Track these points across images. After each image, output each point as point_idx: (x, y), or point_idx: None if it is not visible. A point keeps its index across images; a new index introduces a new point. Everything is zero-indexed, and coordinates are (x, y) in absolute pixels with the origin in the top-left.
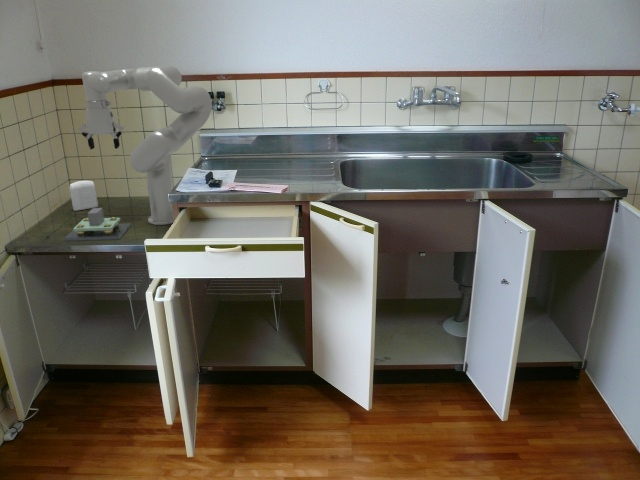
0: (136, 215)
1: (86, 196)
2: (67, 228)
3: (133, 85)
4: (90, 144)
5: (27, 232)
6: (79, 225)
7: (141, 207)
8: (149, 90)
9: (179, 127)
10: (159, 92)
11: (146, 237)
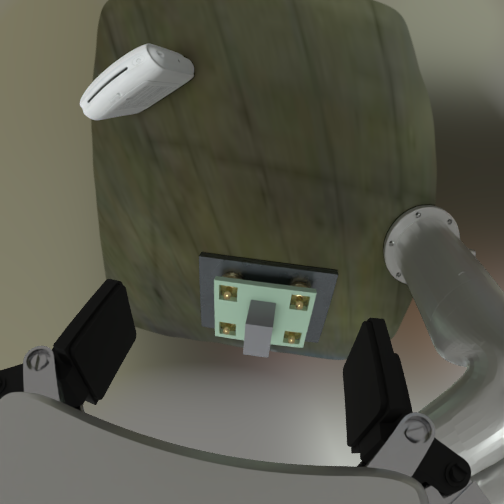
0: (347, 184)
1: (151, 93)
2: (173, 251)
3: None
4: (114, 367)
5: (103, 257)
6: (226, 333)
7: (353, 102)
8: None
9: None
10: None
11: None
